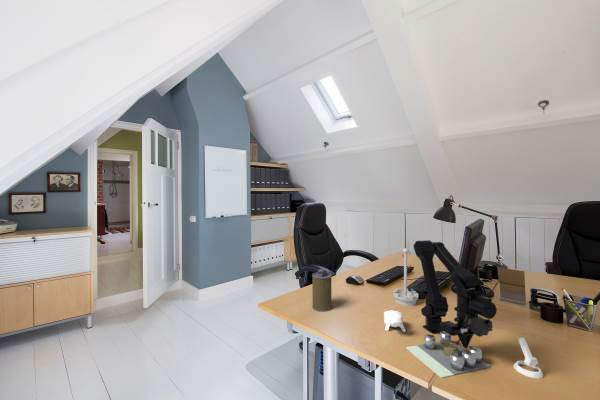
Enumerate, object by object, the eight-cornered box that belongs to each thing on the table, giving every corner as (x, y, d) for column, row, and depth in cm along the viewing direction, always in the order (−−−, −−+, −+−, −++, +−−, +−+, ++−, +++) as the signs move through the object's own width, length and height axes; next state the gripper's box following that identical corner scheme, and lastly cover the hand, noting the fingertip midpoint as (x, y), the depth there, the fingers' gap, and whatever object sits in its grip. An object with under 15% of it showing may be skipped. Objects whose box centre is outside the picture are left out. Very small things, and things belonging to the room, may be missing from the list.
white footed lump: (382, 329, 127) (387, 332, 113) (381, 309, 130) (386, 310, 116) (401, 330, 126) (409, 333, 112) (400, 310, 129) (407, 311, 115)
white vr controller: (512, 340, 101) (531, 337, 96) (529, 379, 94) (550, 378, 89) (498, 340, 99) (517, 336, 94) (514, 379, 92) (536, 378, 87)
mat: (405, 347, 106) (405, 347, 106) (449, 339, 112) (449, 339, 112) (441, 378, 89) (441, 377, 89) (491, 366, 94) (491, 365, 94)
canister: (325, 313, 137) (325, 273, 137) (308, 308, 143) (308, 270, 143) (335, 306, 146) (335, 269, 145) (319, 301, 152) (319, 266, 151)
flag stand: (422, 306, 145) (422, 250, 144) (397, 306, 145) (397, 250, 144) (412, 297, 158) (412, 245, 157) (390, 297, 158) (390, 245, 157)
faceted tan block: (438, 351, 103) (438, 344, 103) (448, 348, 105) (448, 340, 105) (450, 359, 98) (450, 350, 98) (460, 354, 101) (460, 346, 101)
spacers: (420, 344, 108) (421, 334, 108) (448, 339, 111) (448, 329, 111) (457, 372, 91) (457, 360, 91) (488, 365, 95) (488, 353, 94)
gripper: (463, 319, 93) (463, 364, 93) (505, 313, 98) (504, 355, 98) (439, 306, 104) (438, 347, 104) (477, 301, 109) (477, 339, 109)
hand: (465, 347), depth 104 cm, fingers closed
